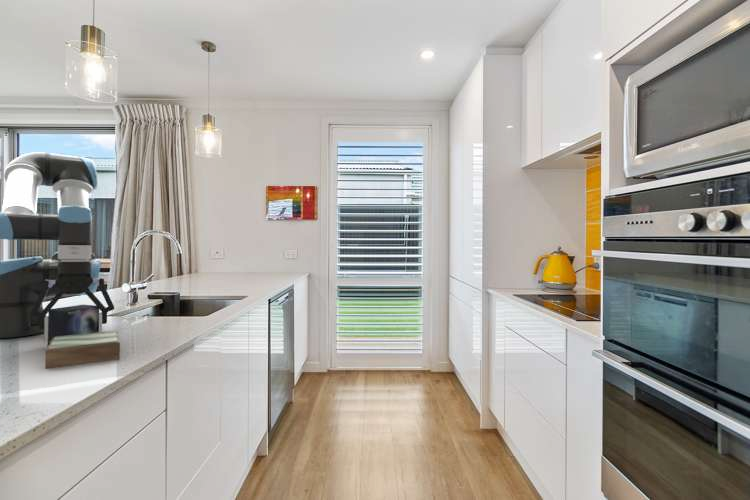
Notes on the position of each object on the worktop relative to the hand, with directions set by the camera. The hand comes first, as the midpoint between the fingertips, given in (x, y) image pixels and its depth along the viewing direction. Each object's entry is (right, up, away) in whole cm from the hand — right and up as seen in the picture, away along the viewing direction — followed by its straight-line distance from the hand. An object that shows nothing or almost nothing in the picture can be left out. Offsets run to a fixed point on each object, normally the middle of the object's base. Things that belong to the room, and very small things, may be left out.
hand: (74, 338), depth 111 cm
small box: (0, -2, 0) cm, 2 cm away
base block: (+12, -2, -12) cm, 17 cm away
